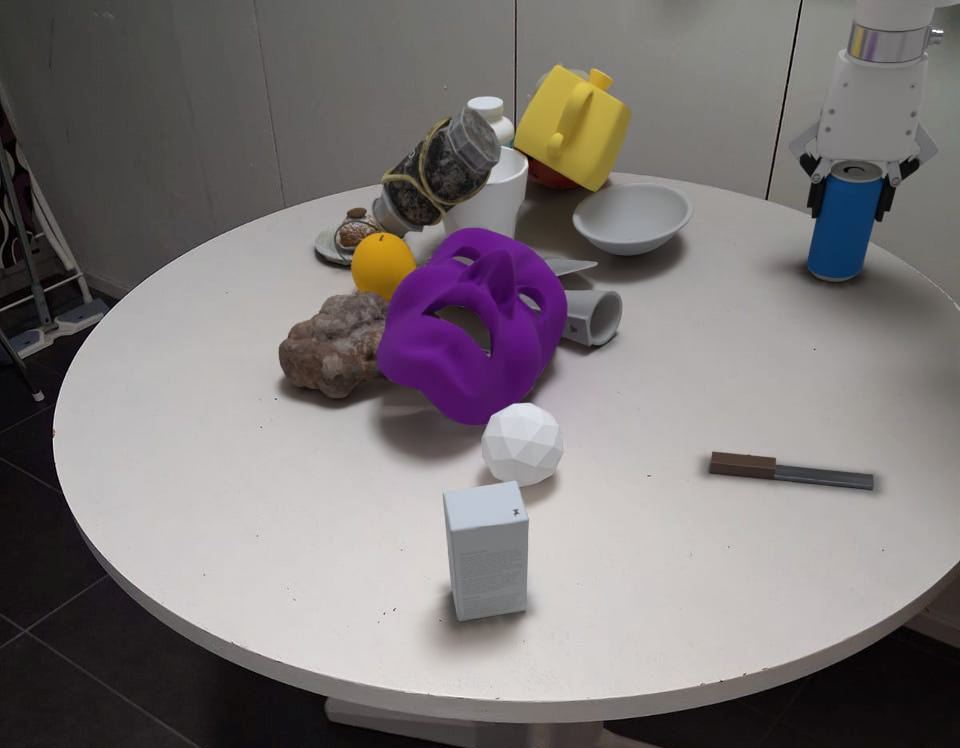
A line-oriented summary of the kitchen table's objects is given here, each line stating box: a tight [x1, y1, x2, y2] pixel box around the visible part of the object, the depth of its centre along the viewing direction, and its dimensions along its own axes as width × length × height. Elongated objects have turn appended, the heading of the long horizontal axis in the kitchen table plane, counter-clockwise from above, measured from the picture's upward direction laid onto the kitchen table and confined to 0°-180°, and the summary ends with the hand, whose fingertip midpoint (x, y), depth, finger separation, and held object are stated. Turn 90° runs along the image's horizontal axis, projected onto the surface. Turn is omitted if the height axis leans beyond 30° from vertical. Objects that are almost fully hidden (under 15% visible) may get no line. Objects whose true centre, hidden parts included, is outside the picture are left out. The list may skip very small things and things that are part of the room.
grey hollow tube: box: [518, 289, 623, 347], centre depth 111 cm, size 6×6×19 cm
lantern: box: [334, 106, 502, 265], centre depth 114 cm, size 9×8×25 cm
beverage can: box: [806, 160, 884, 283], centre depth 111 cm, size 6×6×12 cm
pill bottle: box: [466, 96, 515, 150], centre depth 127 cm, size 8×7×14 cm
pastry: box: [314, 207, 405, 266], centre depth 125 cm, size 12×12×5 cm
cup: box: [441, 146, 528, 266], centre depth 119 cm, size 12×12×11 cm
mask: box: [377, 228, 568, 427], centre depth 94 cm, size 17×15×25 cm
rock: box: [277, 291, 442, 399], centre depth 104 cm, size 18×12×10 cm, turn 109°
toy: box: [514, 61, 590, 190], centre depth 132 cm, size 15×15×15 cm
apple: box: [350, 233, 417, 303], centre depth 115 cm, size 8×8×8 cm
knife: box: [709, 450, 875, 490], centre depth 90 cm, size 15×2×1 cm, turn 76°
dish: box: [572, 181, 694, 256], centre depth 120 cm, size 18×14×5 cm
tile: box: [543, 258, 598, 277], centre depth 114 cm, size 20×11×1 cm, turn 124°
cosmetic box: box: [442, 481, 530, 622], centre depth 76 cm, size 6×4×12 cm
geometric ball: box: [481, 402, 565, 488], centre depth 89 cm, size 8×8×8 cm
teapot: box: [514, 64, 632, 193], centre depth 119 cm, size 20×12×12 cm
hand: (846, 213), depth 111 cm, fingers closed on beverage can, 6 cm apart
